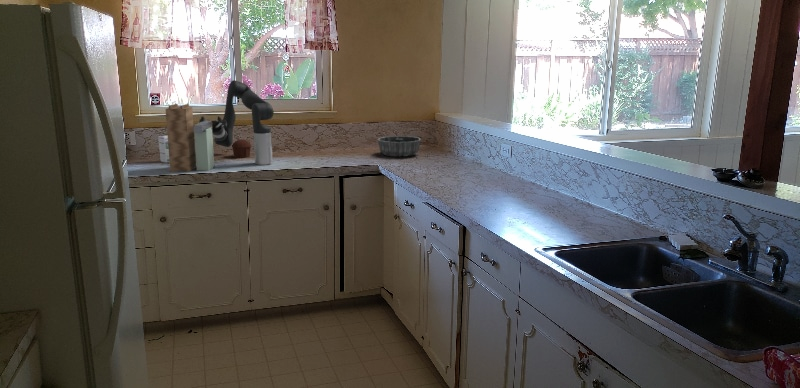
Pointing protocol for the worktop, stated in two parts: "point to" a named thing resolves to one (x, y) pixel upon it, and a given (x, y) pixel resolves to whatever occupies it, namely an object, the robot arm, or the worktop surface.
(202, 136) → the pale green tall block
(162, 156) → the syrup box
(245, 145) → the muffin
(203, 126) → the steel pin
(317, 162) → the worktop surface
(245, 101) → the robot arm
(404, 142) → the bundt pan
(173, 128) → the jenga block tower
